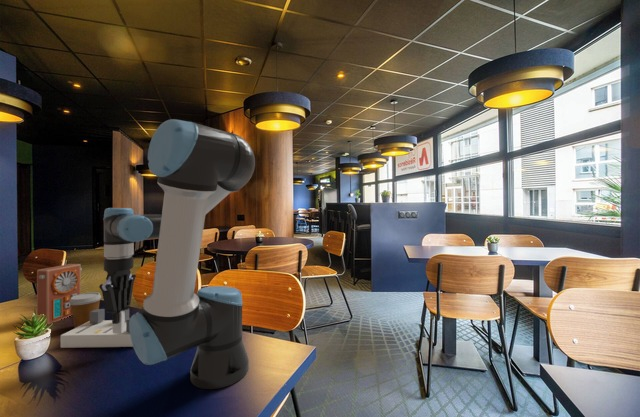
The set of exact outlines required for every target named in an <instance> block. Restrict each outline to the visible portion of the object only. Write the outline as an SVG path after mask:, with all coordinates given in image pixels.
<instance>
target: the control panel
mask: <svg viewBox="0 0 640 417" xmlns="http://www.w3.org/2000/svg"><path fill="white" fill-rule="evenodd" d="M81 266H82V265H81V263H69V264H63V265H57V266H52V267H46V268H41V269H40V268H39V269H37V271H36V316H37V315H40V314H44V315H46V316H47V324H48V325H51V324H53V323H52V322H54V323H56V322H59V321H62V320H64V318H65V319H68V318H70V317H69V316H71V315H72V309H71V305H70V303H69V301H70V299H71V297H73V296H76V295H79V294H82V293H81V291H82V290H81V286H82V285H81V284H82V283H81V280H82V279H81V275H82V274H81V272H82V270H83V268H82V267H81ZM67 317H68V318H67ZM71 317H72V316H71ZM61 319H62V320H61Z"/></svg>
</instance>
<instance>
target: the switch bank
mask: <svg viewBox="0 0 640 417" xmlns="http://www.w3.org/2000/svg"><path fill="white" fill-rule="evenodd" d="M121 347H123V348H126V347H131V348H134V347H133V344H132V341H131V336H130V332H126V322H125V331H124V332H123V333H113V323H112V319H109V320H106V319H105V320H103V321H101V322H99V323H90V321H89V322H87V323H85V324H83V325H81V326H79V327H77V328H75V327H74V328H73V329H71V330H69V331H66V332H64V333H62V334H60V348H61V349H62V348H63V349H65V348H121Z"/></svg>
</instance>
